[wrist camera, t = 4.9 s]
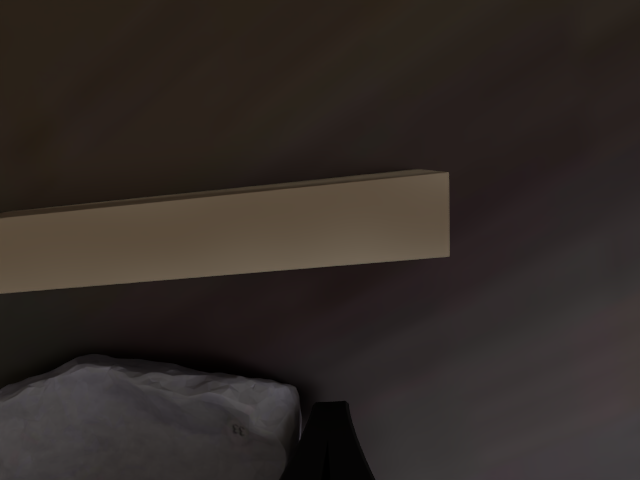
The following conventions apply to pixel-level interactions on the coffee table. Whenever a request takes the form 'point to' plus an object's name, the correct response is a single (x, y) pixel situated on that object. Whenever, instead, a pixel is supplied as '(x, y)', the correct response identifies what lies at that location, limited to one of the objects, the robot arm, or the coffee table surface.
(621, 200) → the coffee table surface
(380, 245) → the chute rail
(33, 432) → the stone block
